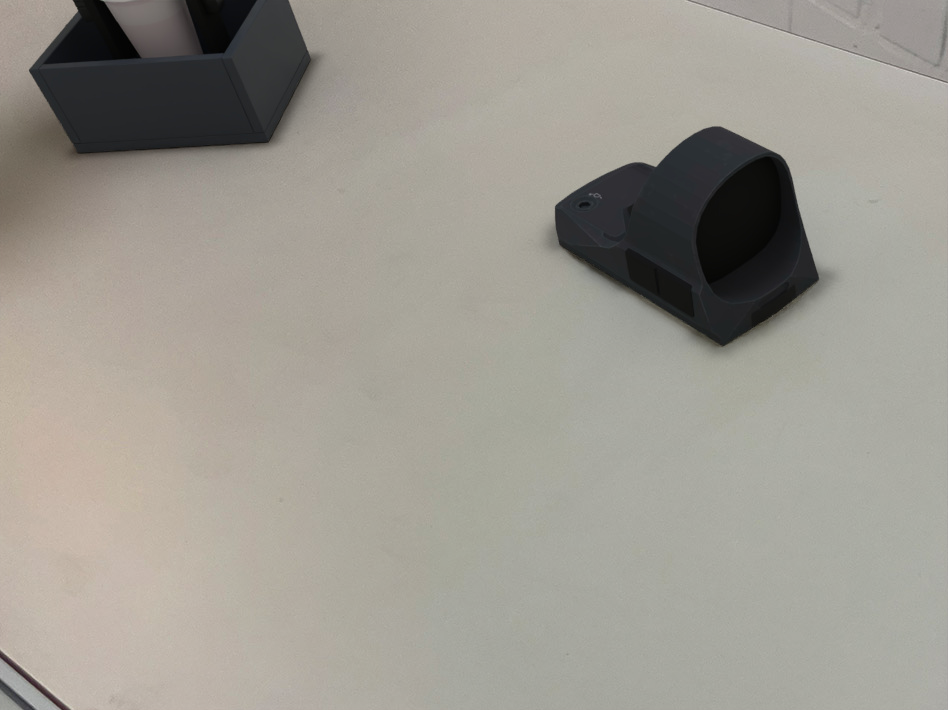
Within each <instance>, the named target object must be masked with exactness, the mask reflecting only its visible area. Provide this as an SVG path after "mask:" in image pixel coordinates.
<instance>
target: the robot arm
mask: <svg viewBox="0 0 948 710" xmlns="http://www.w3.org/2000/svg"><path fill="white" fill-rule="evenodd" d="M186 1H187V3H188V5H189V7H190V9H191V12H192V14H193V16H194V18H195V20H196V23H197V25H198V27H199V29H200V31H201V34H202V36H203V38H204V40H205V42H206V45H207V47H208V49H209V51H210V53H211V54H219V53H225V51H226V50H227V48H228V47H229V45H230V43H231V42H232V40H231V38H230V36H229V34H228V31H227V29H226V27H225V24H224V22H223V20H222V17H221V15H220V11H221V10H222V8H223V7H224V0H186ZM72 2H73V4H74V6H75V7H76V9H77V12H78V11H79V13H80V15H81V16H82V18H83V19H84V20H85V21H86V22H94V23H95V25H96V27H97V29H98V30H99V32H100V34H101V36H102V38H103V40H104V42H105V44H106V46H107V47H108V49H109V51H110V53H111V55H112V57H113V59H114V60H123V59H134V57H135V56H136V55H137V53H138V52H137V50H136V49H135V47H134V46H133V44H132V43H131V41H130V40H129V38H128V37H127V35H126V34H125V32H124V31H123V29H122V28H121V26H120V25H119V23H118V22H117V21H116V19H115V18H114V16H113V14H112V13H111V11H110V10H109V8H108V7H107V5H106V4H105V2H104V1H101V0H72Z"/></svg>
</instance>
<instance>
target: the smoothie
mask: <svg viewBox="0 0 948 710" xmlns="http://www.w3.org/2000/svg"><path fill="white" fill-rule="evenodd" d="M101 1H104V2H105V4H106V5H107V7H108V8H109V10H110V11H111V13H112V14H113V16H114V18H115V19H116V21H117V22H118V23H119V25H120V26H121V28H122V29H123V31H124V32H125V34H126V35H127V37H128V38H129V40H130V41H131V43H132V44H133V46H134V47H135V49H136V50H137V52H138V53H139V55H140V56H141V58H155V57H171V56H187V55H203V51H202V48H201V45H200V43H199V40H198V37H197V34H196V31H195V28H194V25H193V22H192V19H191V16H190V13H189V10H188V7H187V4H186V1H185V0H101Z"/></svg>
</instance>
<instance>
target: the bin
mask: <svg viewBox="0 0 948 710" xmlns="http://www.w3.org/2000/svg"><path fill="white" fill-rule="evenodd" d="M185 1H186V0H185ZM186 4H187V7H188V10H189V13H190V16H191V19H192V22H193V25H194V28H195V31H196V34H197V37H198V40H199V43H200V45H201V48H202V51H203V55H187V56H171V57H155V58H141V56H140V55H139V53H137V55H136V56H135V57H134V59H123V60H114V59H113V57H112V55H111V53H110V51H109V49H108V47H107V46H106V44H105V42H104V40H103V38H102V36H101V34H100V32H99V30H98V29H97V27H96V25H95V23H94V22H86V21H85V20H84V19H83V18H82V16H81V15H80V13H79V11H78V10H77V11H76V13H74V15H73V16H72V18H71V19H69V21H68V22H67V23H66V24H65V26H64V27H63V28H62V29H61V31H60V32H58V34H57V35H56V37H55V38H54V39H53V40H52V41H51V43H50V44H48V46H47V47H46V49H45V50H44V51H43V52H42V53H41V54H40V56H39V57H38V58H37V59H36V61H35V62H34V63H33V64H31V65H32V66H30V67H29V69H28V71H29V74H30V75H31V77H32V79H33V80H34V82H35V84H36V86H37V87H38V89H39V90H40V92H41V94H42V96H43V97H44V99H45V100H46V102H47V104H48V105H49V108H50V109H51V111H52V112H53V114H54V116H55V117H56V119H57V120H58V122H59V124H60V126H61V127H62V129H63V131H64V132H65V134H66V136H67V137H68V139H69V141H70V142H71V144H72V146H73V147H74V149H75V151H76V152H77V154H83V153H102V152H120V151H135V150H136V151H137V150H152V149H154V150H155V149H169V148H172V149H173V148H186V147H187V148H188V147H203V146H204V147H205V146H222V145H223V146H224V145H237V144H255V143H268V142H270V139H271V137H272V135H273V134H274V132H275V130H276V128H277V126H278V124H279V122H280V120H281V118H282V116H283V114H284V112H285V110H286V108H287V107H288V104H289V102H290V100H291V98H292V96H293V95H294V92H295V91H296V89H297V86H298V84H299V83H300V81H301V79H302V77H303V75H304V74H305V71H306V69H307V67H308V65H309V64H310V61H311V59H312V58H311V54H310V52H309V50H308V48H307V45H306V42H305V39H304V36H303V33H302V31H301V28H300V26H299V24H298V22H297V21H298V20H297V19H296V18H297V17H296V16H295V13H294V9H293V8H292V6H291V5H292V4H291V2H290V0H224V7H223V8H222V10H221V11H220V15H221V17H222V20H223V22H224V24H225V27H226V29H227V31H228V34H229V36H230V38H231V40H232V42H231V43H230V45H229V47H228V48H227V50H226V51H225V53H219V54H211V53H210V51H209V49H208V47H207V45H206V42H205V40H204V38H203V36H202V34H201V31H200V29H199V27H198V25H197V23H196V20H195V18H194V16H193V14H192V12H191V9H190V7H189V5H188V3H187V1H186Z"/></svg>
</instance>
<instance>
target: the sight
mask: <svg viewBox="0 0 948 710" xmlns="http://www.w3.org/2000/svg"><path fill="white" fill-rule="evenodd" d="M796 194H797V193H796V188H795V183H794V180H793V176H792V171H791V169H790V166H789V164H788V163H787V161H786V159H785V158H784V157H783V156H782V155H781V154H779V153H777V152H775V151H773V150H771V149H769V148H766V147H765V146H762V145H760V144H758V143H756V142H754V141H752V140H751V139H748V138H746V137H744V136H742V135H740V134H738V133H736V132H733V131H732V130H729V129H727V128H726V127H723V126H720V125H715V126H712V125H711V126H708V127H705V128H702V129H700V130H698V131H697V132H694V133H693V134H691V135H689V136H688V137H686V138H685V139H683V140H682V141H681V142H680V143H678V144H677V145H676V146H674V147H673V148H672V149H671V150H670V152H668V153H667V154H666V155H665V156H664V157H663V158H662V159H661V160H660V161H659V163H658V164H657V165H656V166H655V165H652V164H648V163H646V162H641V161H634V162H630V163H627V164H624V165H622V166H619V167H617V168H615V169H613V170H610V171H608V172H606V173H604V174H602V175H600V176H598V177H596V178H594V179H593V180H591V181H588V182H587V183H585V184H584V185H582V186H581V187H579V188H578V189H576V190H574V191H572V192H571V193H569V194H568V195H566V196H565V197H564V198H563V199H561V200H560V201H559V202H557V203H556V204H555V206H554V223H555V231H556V234H557V240H558V244H559V245H560V246H561V247H563V248H564V249H566V250H568V251H569V252H571V253H573V254H574V255H576V257H579V258H580V259H582V260H584V261H585V262H587V263H588V264H590V265H592V266H594V267H595V268H597V269H598V270H600V271H601V272H603V273H604V274H606V275H608V276H609V277H611V278H613V279H614V280H616V281H617V282H619V283H620V284H622V285H623V286H626V287H627V288H629V289H630V290H632V291H633V292H635V293H637V294H638V295H639V296H642V298H645V299H646V300H648V301H650V302H651V303H653V304H655V306H658V307H659V308H661V309H662V310H664V311H665V312H667V313H669V314H671V315H672V316H674V317H675V318H676V319H678V320H680V321H681V322H683V323H685V324H687V325H688V326H690V327H691V328H693V329H694V330H696V331H697V332H699V333H701V334H702V335H704V336H705V337H707V338H709V339H710V340H712V341H713V342H715V343H716V344H718V345H720V346H722V347H723V346H726V345H728V344H729V343H730V342H732V341H734V340H735V339H737V338H739V337H741V336H742V335H743V334H745V333H747V332H748V331H750V330H752V329H753V328H755V327H757V326H759V325H760V324H761V323H763V322H765V321H766V320H768V319H769V318H771V317H773V316H774V315H775V314H777V313H778V312H779V311H781V310H782V309H784V308H785V307H786V306H787V305H789V304H790V303H791V302H792V301H794V300H795V299H796V298H797V297H799V296H800V295H802V294H803V293H804V292H805V291H807V290H808V289H809V288H810V287H812V286H813V285H814V284H815V283H817V282H818V281H819V280H820V275H819V273H818V270H817V266H816V262H815V259H814V256H813V253H812V249H811V246H810V243H809V239H808V236H807V232H806V229H805V225H804V222H803V218H802V215H801V214H802V213H801V211H800V208H799V204H798V199H797V195H796Z"/></svg>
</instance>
